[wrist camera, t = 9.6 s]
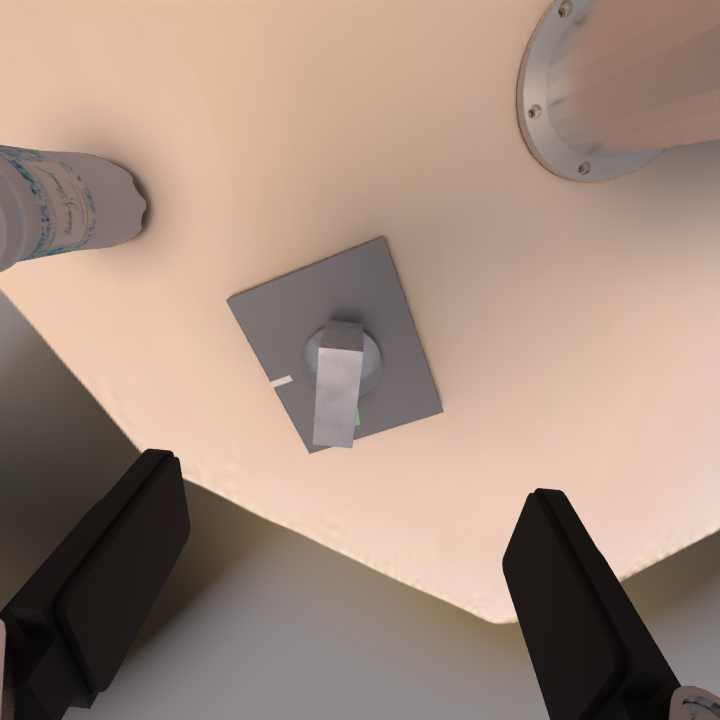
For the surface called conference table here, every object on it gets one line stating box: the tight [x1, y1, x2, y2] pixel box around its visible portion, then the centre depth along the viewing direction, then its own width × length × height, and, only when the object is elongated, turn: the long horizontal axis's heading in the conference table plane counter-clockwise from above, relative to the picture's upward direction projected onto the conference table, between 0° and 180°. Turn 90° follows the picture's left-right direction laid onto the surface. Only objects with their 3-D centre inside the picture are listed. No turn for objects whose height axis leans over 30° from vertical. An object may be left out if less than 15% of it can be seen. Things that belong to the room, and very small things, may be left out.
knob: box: [301, 320, 382, 448], centre depth 30 cm, size 7×10×7 cm, turn 174°
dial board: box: [226, 236, 444, 454], centre depth 33 cm, size 14×17×2 cm
